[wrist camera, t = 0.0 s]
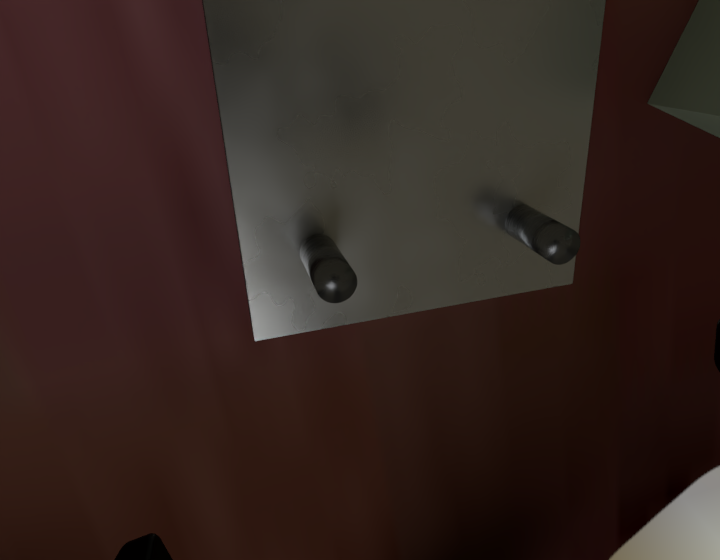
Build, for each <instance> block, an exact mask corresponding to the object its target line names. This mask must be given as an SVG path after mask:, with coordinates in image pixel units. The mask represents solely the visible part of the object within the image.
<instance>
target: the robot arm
mask: <svg viewBox="0 0 720 560" xmlns="http://www.w3.org/2000/svg"><path fill="white" fill-rule="evenodd" d="M714 360H715V364H716V367H717V369H718V370H719V372H720V319H719V321H718V323H717V329H716V341H715V353H714ZM115 560H173V559H172V558H171V556H170V554H169V553H168V551H167V549H166V547H165V546H164V544H163V542H162V540H161V539H160V537H159V536H158V535H156V534H154V533H150V534H147V535H145V536H142V537H139V538H137V539H134V540H132V541H129V542H127V543H126V544H125V545H124V546H123V547H122V548H121V550H120V551H119V553H118V555H117V556H116V558H115Z"/></svg>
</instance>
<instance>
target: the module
mask: <svg viewBox="0 0 720 560" xmlns="http://www.w3.org/2000/svg"><path fill="white" fill-rule="evenodd" d="M647 104H649V105H652V106H654V107H656V108H658V109H660V110H662V111H664V112H666V113H668V114H671V115H673V116H675V117H677V118H679V119H681V120H683V121H685V122H687V123H689V124H692V125H694V126H696V127H698V128H700V129H702V130H704V131H706V132H708V133H711V134H713V135H715V136H717V137H719V138H720V0H699V1H698V3H697V5H696V7H695V9H694V11H693V13H692V15H691V17H690V19H689V21H688V23H687V25H686V27H685V29H684V31H683V33H682V35H681V37H680V39H679V41H678V43H677V45H676V47H675V49H674V51H673V53H672V55H671V57H670V59H669V61H668V63H667V65H666V67H665V69H664V71H663V73H662V75H661V77H660V79H659V81H658V83H657V85H656V87H655V89H654V91H653V93H652V95H651V97H650V99H649V101H648V103H647Z"/></svg>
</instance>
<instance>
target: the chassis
mask: <svg viewBox="0 0 720 560" xmlns="http://www.w3.org/2000/svg"><path fill="white" fill-rule="evenodd" d="M605 1H606V0H202V4H203V10H204V17H205V23H206V30H207V36H208V43H209V49H210V56H211V63H212V69H213V76H214V82H215V89H216V95H217V102H218V108H219V115H220V122H221V128H222V135H223V141H224V148H225V154H226V161H227V167H228V174H229V180H230V187H231V194H232V200H233V207H234V213H235V220H236V226H237V233H238V239H239V246H240V253H241V259H242V266H243V272H244V279H245V285H246V292H247V298H248V305H249V312H250V318H251V325H252V330H253V335H254V339H255V341H258V340H264V339H269V338H275V337H280V336H286V335H291V334H297V333H302V332H308V331H313V330H319V329H324V328H330V327H336V326H341V325H347V324H352V323H358V322H363V321H369V320H374V319H380V318H385V317H391V316H396V315H402V314H407V313H413V312H418V311H424V310H429V309H435V308H440V307H446V306H451V305H457V304H462V303H468V302H473V301H479V300H484V299H490V298H495V297H501V296H506V295H512V294H517V293H523V292H528V291H534V290H539V289H545V288H550V287H556V286H561V285H567V284H572V283H573V275H574V266H575V258H576V254H577V252H578V250H579V247H580V237H579V235H578V232H579V223H580V215H581V206H582V198H583V189H584V181H585V172H586V164H587V155H588V146H589V138H590V129H591V121H592V112H593V104H594V95H595V87H596V78H597V70H598V61H599V52H600V44H601V35H602V27H603V18H604V10H605Z"/></svg>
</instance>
